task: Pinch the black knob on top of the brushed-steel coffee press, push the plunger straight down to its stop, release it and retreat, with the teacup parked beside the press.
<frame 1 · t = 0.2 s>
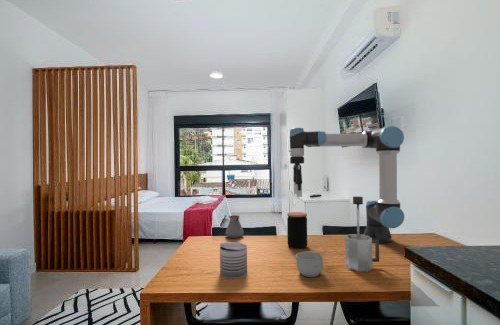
hand: (297, 195, 153), 28 cm above the table, fingers open, 13 cm apart
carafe: (358, 267, 122), on the table
can: (233, 273, 117), on the table
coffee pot: (235, 239, 171), on the table
coffee jar: (297, 246, 153), on the table
teacup: (310, 273, 116), on the table
plunger: (358, 219, 122), point 21 cm above the table, slide at 0.0 cm
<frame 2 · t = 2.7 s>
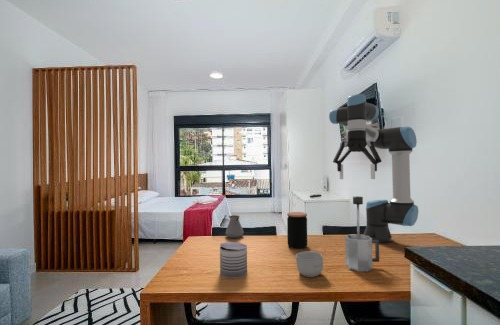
hand: (357, 179, 122), 38 cm above the table, fingers open, 13 cm apart
nothing on the table moved.
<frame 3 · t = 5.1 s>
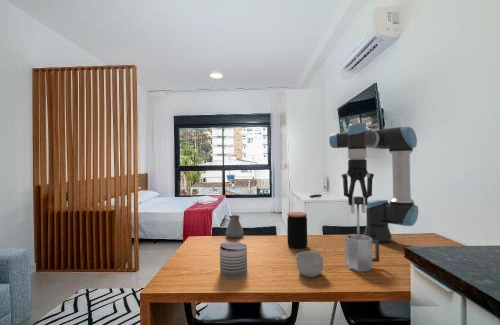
hand: (358, 212, 122), 24 cm above the table, fingers closed on plunger, 4 cm apart
plunger: (358, 219, 122), point 21 cm above the table, slide at 0.0 cm, touching gripper
everything else where it was.
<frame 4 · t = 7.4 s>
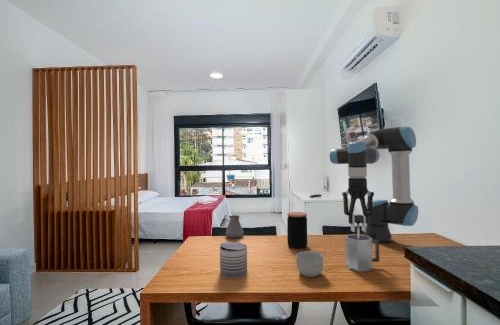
hand: (358, 231, 122), 16 cm above the table, fingers closed on plunger, 4 cm apart
plunger: (358, 238, 122), point 13 cm above the table, slide at 8.0 cm, touching gripper
everything else where it was.
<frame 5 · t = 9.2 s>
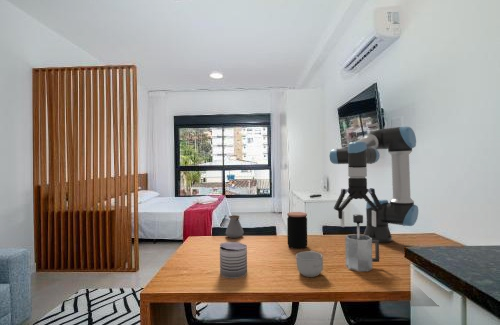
hand: (358, 226, 122), 18 cm above the table, fingers open, 13 cm apart
plunger: (358, 238, 122), point 13 cm above the table, slide at 8.0 cm
everything else where it was.
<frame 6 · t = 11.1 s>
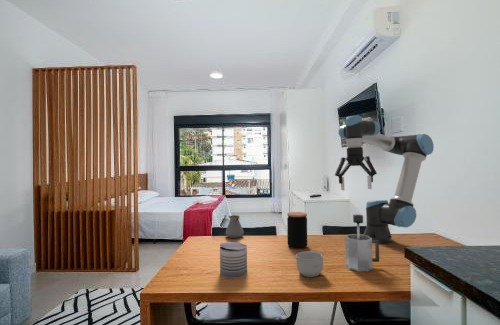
hand: (356, 189, 140), 32 cm above the table, fingers open, 13 cm apart
nothing on the table moved.
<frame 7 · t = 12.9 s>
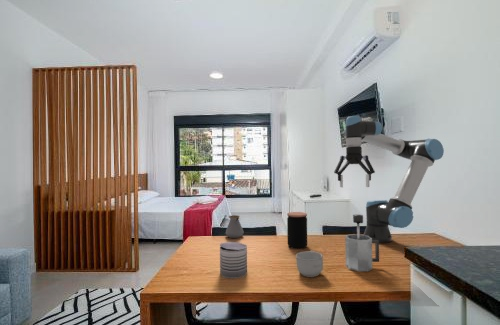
hand: (354, 187, 146), 33 cm above the table, fingers open, 13 cm apart
nothing on the table moved.
at the end: plunger slide at 8.0 cm; the gripper is holding nothing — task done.
